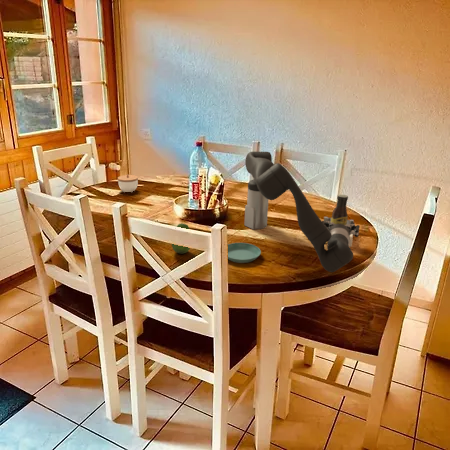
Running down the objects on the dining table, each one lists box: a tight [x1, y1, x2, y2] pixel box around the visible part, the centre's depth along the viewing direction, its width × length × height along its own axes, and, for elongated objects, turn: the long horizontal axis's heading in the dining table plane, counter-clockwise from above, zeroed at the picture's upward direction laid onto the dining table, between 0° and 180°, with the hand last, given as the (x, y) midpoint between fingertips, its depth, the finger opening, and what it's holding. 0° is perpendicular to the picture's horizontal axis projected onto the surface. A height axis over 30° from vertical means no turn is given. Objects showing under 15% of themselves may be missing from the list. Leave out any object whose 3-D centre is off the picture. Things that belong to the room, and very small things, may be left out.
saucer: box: [227, 242, 262, 264], centre depth 157 cm, size 15×15×3 cm
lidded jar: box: [117, 174, 139, 193], centre depth 229 cm, size 11×11×9 cm
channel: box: [323, 216, 355, 248], centre depth 177 cm, size 18×12×5 cm
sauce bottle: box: [330, 194, 349, 225], centre depth 169 cm, size 6×6×20 cm
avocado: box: [171, 222, 191, 255], centre depth 157 cm, size 8×8×12 cm
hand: (340, 221), depth 164 cm, fingers open, 8 cm apart
